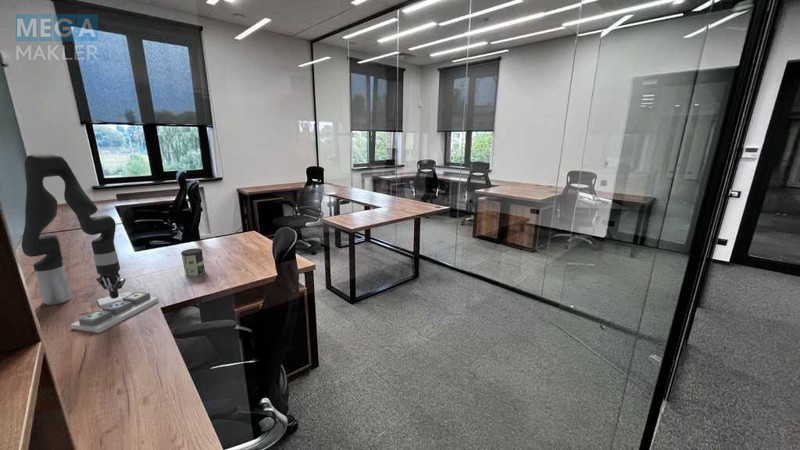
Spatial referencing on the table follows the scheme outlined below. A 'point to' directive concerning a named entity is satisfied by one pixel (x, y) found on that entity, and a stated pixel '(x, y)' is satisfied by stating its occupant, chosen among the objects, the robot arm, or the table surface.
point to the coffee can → (193, 262)
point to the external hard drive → (109, 300)
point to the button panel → (115, 313)
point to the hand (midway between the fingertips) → (114, 297)
